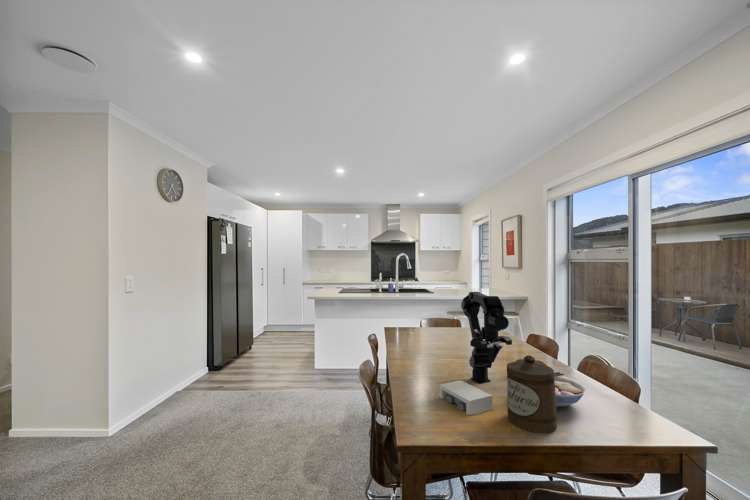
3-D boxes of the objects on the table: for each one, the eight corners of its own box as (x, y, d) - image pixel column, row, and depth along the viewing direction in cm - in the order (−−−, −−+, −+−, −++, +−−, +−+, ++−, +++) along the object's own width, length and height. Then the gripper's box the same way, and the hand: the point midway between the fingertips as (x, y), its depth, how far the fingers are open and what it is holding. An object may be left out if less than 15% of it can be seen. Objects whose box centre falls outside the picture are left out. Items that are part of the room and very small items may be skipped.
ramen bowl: (548, 421, 105) (547, 396, 106) (503, 394, 127) (503, 374, 128) (604, 412, 112) (603, 389, 112) (553, 388, 134) (552, 369, 134)
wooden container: (498, 415, 109) (497, 352, 110) (530, 409, 114) (528, 348, 116) (533, 437, 95) (531, 364, 97) (567, 428, 100) (565, 359, 102)
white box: (460, 392, 129) (460, 380, 130) (492, 409, 114) (492, 395, 114) (439, 397, 125) (439, 384, 125) (469, 415, 109) (469, 400, 109)
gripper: (492, 320, 144) (493, 355, 143) (461, 323, 136) (461, 360, 135) (512, 324, 134) (513, 361, 133) (479, 328, 126) (480, 367, 125)
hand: (491, 362), depth 131 cm, fingers closed
